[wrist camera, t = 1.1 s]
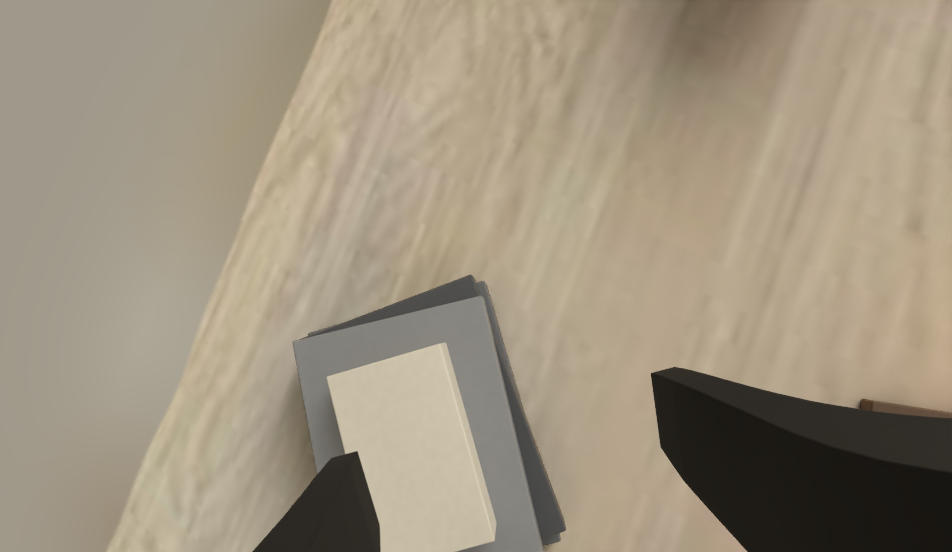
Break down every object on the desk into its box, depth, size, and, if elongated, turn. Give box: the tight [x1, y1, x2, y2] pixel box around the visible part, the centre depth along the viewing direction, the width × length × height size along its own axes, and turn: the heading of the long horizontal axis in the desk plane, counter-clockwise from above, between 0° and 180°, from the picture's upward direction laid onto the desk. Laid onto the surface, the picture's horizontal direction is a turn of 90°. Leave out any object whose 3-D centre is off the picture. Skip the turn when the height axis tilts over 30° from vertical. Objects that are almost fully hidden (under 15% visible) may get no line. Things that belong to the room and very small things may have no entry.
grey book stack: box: [293, 275, 566, 552], centre depth 24 cm, size 13×10×4 cm
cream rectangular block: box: [327, 343, 497, 552], centre depth 21 cm, size 8×5×2 cm, turn 16°
